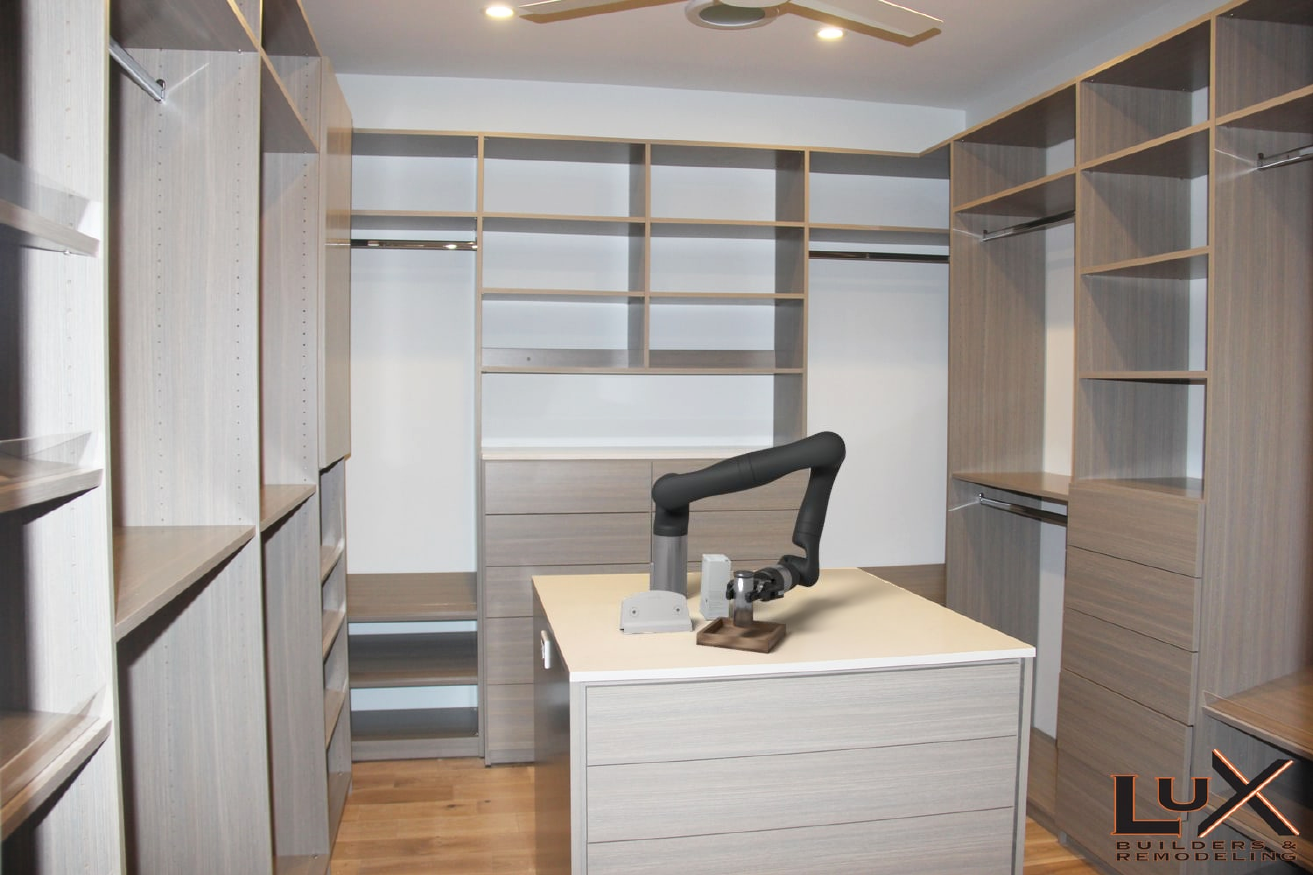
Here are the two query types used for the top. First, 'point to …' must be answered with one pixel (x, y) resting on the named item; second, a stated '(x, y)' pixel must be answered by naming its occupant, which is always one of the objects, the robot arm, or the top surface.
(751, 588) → the steel canister
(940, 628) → the top surface
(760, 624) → the walnut tray
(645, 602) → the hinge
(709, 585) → the skincare box
